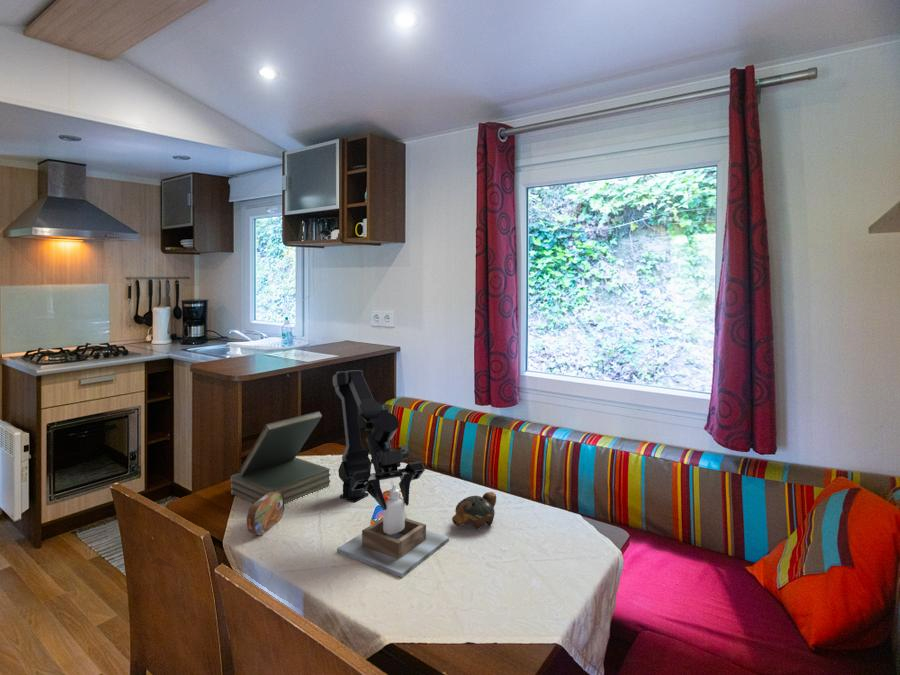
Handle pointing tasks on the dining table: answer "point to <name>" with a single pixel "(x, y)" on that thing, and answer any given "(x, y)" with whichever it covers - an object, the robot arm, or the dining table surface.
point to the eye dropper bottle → (394, 513)
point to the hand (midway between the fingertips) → (396, 507)
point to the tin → (265, 513)
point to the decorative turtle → (475, 510)
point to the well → (394, 547)
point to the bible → (280, 463)
